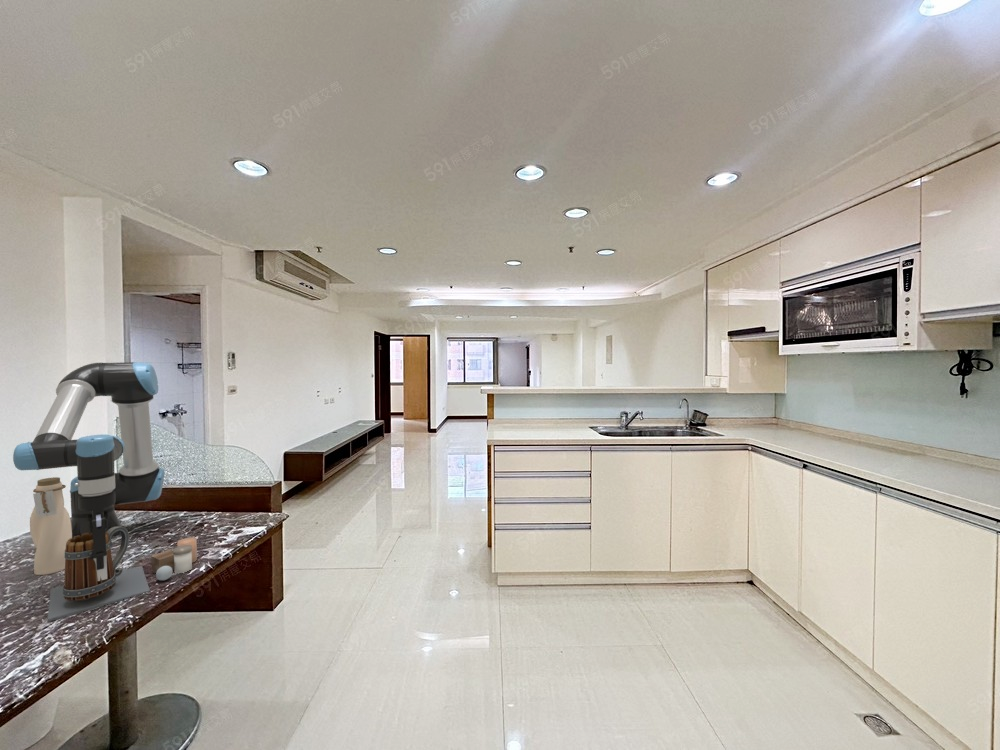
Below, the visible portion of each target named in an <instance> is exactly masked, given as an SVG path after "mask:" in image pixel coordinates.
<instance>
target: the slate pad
mask: <svg viewBox="0 0 1000 750" xmlns="http://www.w3.org/2000/svg"><path fill="white" fill-rule="evenodd" d="M115 582H116V583H115V585H114V587H113V588H112V589H110V590H109V591H107V592H106V593H104V594H101V595H99V596H96V597H93V598H90V599H86V600H81V601H69V600H66V599H64V595H63V586H64V585H61V586H57V587H52V588H50V590H49V591H50V592H49V601H48V603H49V604H48V610H47V611H48V612H47V622H48V623H49V622H52V621H54V620H58V619H63V618H65V617H70V616H73V615H76V614H80V613H83V612H86V611H90V610H93V609H97V608H100V607H104V605H105V606H107V604H108V605H111V604H114V602H115V603H118V602H121V600H122V601H124V600H123V599H125V600H127V598H129V599H131V598H130V597H132V596H135V595H139V594H143V593H146V592H150V593H151V590H150V587H149V584H148V581H147V578H146V574H145V571H144V568H143V565H139V566H136V567H131V568H127V569H123V571H122V573H121V575H119V576H118V577H116V581H115ZM146 594H147V593H146ZM143 595H144V594H143ZM139 596H140V595H139ZM132 598H133V597H132ZM117 601H118V602H117Z"/></svg>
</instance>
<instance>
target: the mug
mask: <svg viewBox="0 0 1000 750" xmlns="http://www.w3.org/2000/svg"><path fill="white" fill-rule="evenodd" d="M116 531H119V532H120V533H119V534H120V536H121V537H120V538H121V539H120V540H121V541H120V547H119V548H118V551H117V552H116V555H115V556H114V557H113V558H112V551H111V549H112V548H113V547H114V545H115V542H114V543H113V541H112V537H113V536H112V535H113V533H115V532H116ZM105 535H106V552H107V579H105V580H102V579H101V576H100V581H98V579H97V571H96V563H95V561H94V559H90V557H91V556H93V555H94V553H93V533H91V534H89V533H84V534H82V535H81V536H80V535H77V536H74V537H73V538H70V539H69V540H68V541H67V543H66V549H65V569H64V582H63V585H62V586H63V595H64V599H66V600H69V601H81V600H86V599H90V598H93V597H96V596H99V595H101V594H104V593H106V592H107V591H109V590H110V589H112V588H113V587H114V585H115V583H116V582H115V581H116V577H118V576H119V575H121V573H122V571H123V570H124V568H123V567H122V568H121V567H118V565H119V563H120V562H121V560H122V559H123V557H124V556H125V554H126V552H127V550H128V547H129V542H130V541H129V540H130V535H129V531H128V529H127V528H126V527H124V526H121V527H118V526H117V527H112V528H110V529H109V530H108V531H107V532H105ZM101 552H103V551H101ZM97 553H98V552H97ZM117 567H118V568H117Z"/></svg>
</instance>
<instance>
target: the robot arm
mask: <svg viewBox="0 0 1000 750" xmlns="http://www.w3.org/2000/svg"><path fill="white" fill-rule="evenodd" d="M158 381H159V380H158V376H157V373H156V370H155V368H154V366H153V365H152V364H151V363H148V362H137V361H134V362H132V361H131V362H130V361H129V362H128V361H127V362H126V361H125V362H93V363H89V364H86V365H82V366H80V367H78V368H76V369H74V370H72V371H71V372H69V373H68V374H66V376H64V377H63V378H62V379H61V380H60V381H59V383H58V385H57V387H56V388H55V393H56V397H55V399H54V401H53V403H52V404H51V406H50V409H49V411H48V412H47V414H46V416H45V418H44V420H43V421H42V423H41V426H40V428H39V430H37V431H38V432H37V434H36V435H35V437H34V439H33V441H31V442H30V441H28V442H21V443H19V444H17V445H16V447H15V448H14V450H13V452H12V453H13V454H12V460H13V465H14V467H15V468H16V469H17V470H18V471H40V470H48V469H59V468H69V467H76V469H77V470H76V472H77V476H75V477H74V478H72V480H71V481H70V489H69V493H70V494H69V495H70V512H71V515H70V516H71V517H70V520H71V527H72V538H73V537H74V536H77V535H80V536H81V535H82V534H84V533H89V534H91V533H93V553H94V555H93V556H91V557H90V559H94V561H95V563H96V571H97V579H98V581H100V576H101V579H102V580H105V579H107V552H106V535H105V532H107V531H108V530H109V529H110V528H112V527H117V526H118V527H122V524H121V522H120V519H119V518H118V515H117V513H116V510H115V506H116V505H118V506H119V505H125V504H135V503H143V502H144V503H146V502H148V501H155V500H158V499H159V498H160V497H161V495H162V491H163V487H164V480H165V469H164V468H159V463H158V462H157V461H154V457H153V456H154V455H153V453H154V452H153V444H152V443H153V442H152V441H153V440H152V430H151V417H150V404H149V403H150V402H151V401H153V399H154V396H155V395H157V394H158V393H159V385H158V384H159V382H158ZM95 397H111V402H112V403H113V404H115V405H116V406H117V411H118V418H119V421H118V422H119V428H120V429H119V430H120V437H118V436H117V435H110V434H93V435H92V434H91V435H85V436H81V437H79V438H78V439H73V437H74V435H75V432H76V431H77V428H78V425H79V424H80V421H81V418H82V417H83V414H84V412H85V410H86V408H87V406H88V403H90V402H91V401H93V400H94V398H95ZM121 457H122V461H123V465H122V466H121V467H120V468H119V469H118V472H115V461H117V460H118V459H120V458H121ZM118 534H121V533H120V532H119V531H116V532H115V533H113V535H112V537H114V536H117V535H118ZM101 551H103V552H101ZM97 552H98V553H97Z"/></svg>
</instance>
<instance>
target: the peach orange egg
mask: <svg viewBox="0 0 1000 750" xmlns="http://www.w3.org/2000/svg"><path fill="white" fill-rule="evenodd" d="M183 545H191V546H192V562H195V561H196V560H197V561H198V550H197V549H198V547H197V545H198V543H197V537H193V536H192V537H185V538H182V539H179V540H177V547H179V546H183ZM197 561H196V562H197ZM196 562H195V563H196Z"/></svg>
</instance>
